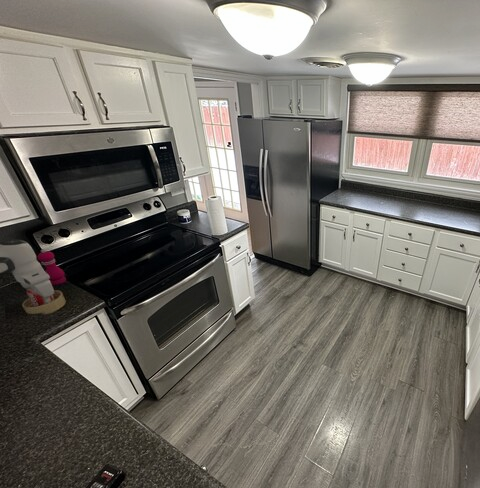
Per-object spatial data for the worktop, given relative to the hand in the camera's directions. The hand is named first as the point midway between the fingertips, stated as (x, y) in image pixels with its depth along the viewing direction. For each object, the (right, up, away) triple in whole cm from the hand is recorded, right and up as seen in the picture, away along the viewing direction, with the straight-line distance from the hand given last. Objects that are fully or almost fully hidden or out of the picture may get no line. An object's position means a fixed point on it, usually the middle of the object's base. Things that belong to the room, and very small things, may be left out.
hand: (43, 299), depth 122 cm
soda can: (0, -4, +2) cm, 5 cm away
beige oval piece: (0, -5, +2) cm, 5 cm away
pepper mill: (-15, +5, +22) cm, 27 cm away
